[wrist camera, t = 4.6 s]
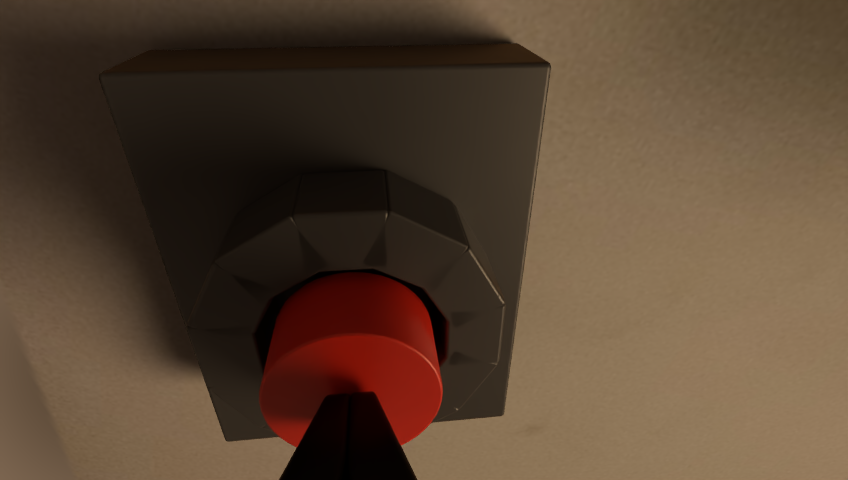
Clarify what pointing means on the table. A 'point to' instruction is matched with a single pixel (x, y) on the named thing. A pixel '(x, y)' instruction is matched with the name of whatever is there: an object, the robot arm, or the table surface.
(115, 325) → the table surface
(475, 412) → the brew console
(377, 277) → the stop button
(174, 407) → the table surface
